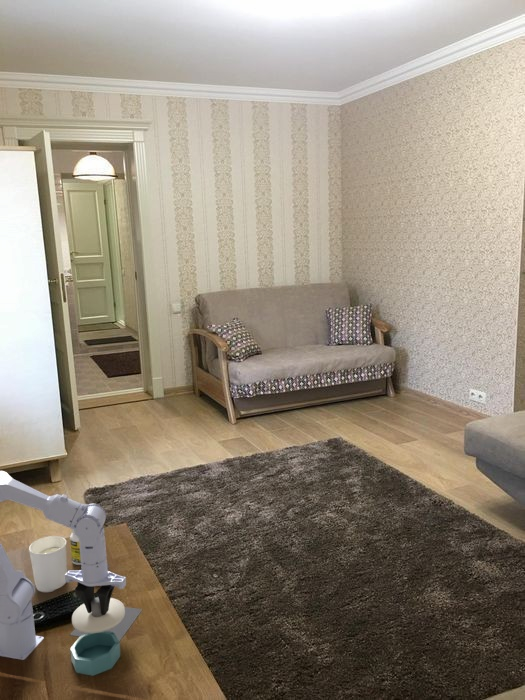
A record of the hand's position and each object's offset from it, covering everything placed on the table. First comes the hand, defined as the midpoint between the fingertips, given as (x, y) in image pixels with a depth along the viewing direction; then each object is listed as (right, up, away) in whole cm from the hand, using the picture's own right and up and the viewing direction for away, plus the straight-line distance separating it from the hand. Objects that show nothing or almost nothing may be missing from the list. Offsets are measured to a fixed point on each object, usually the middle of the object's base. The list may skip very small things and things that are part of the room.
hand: (98, 611), depth 140 cm
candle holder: (-20, -4, +27) cm, 34 cm away
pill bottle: (-15, -2, +39) cm, 42 cm away
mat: (0, -7, +9) cm, 12 cm away
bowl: (+1, -10, -3) cm, 10 cm away
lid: (0, -1, 0) cm, 1 cm away
